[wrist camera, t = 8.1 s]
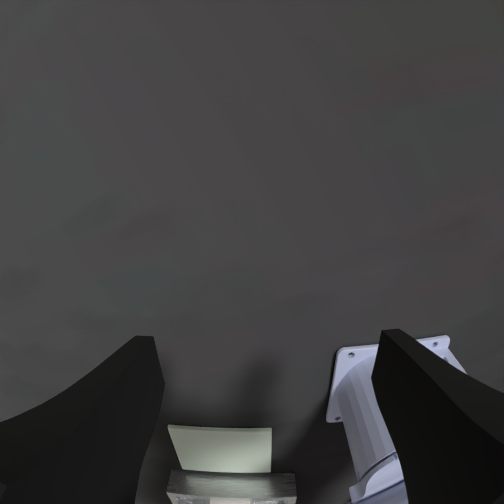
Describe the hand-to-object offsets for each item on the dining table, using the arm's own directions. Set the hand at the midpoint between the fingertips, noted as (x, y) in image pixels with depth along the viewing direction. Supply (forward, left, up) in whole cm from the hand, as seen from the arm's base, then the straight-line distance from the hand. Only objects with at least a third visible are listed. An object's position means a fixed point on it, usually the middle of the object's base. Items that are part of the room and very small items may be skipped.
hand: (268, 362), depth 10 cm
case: (+3, +30, -10) cm, 31 cm away
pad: (+4, +20, -10) cm, 22 cm away
